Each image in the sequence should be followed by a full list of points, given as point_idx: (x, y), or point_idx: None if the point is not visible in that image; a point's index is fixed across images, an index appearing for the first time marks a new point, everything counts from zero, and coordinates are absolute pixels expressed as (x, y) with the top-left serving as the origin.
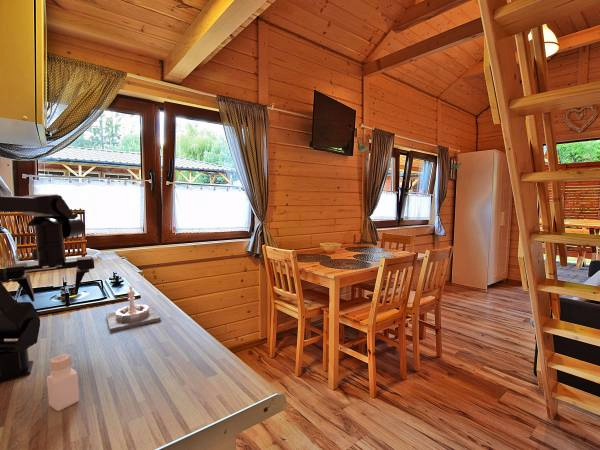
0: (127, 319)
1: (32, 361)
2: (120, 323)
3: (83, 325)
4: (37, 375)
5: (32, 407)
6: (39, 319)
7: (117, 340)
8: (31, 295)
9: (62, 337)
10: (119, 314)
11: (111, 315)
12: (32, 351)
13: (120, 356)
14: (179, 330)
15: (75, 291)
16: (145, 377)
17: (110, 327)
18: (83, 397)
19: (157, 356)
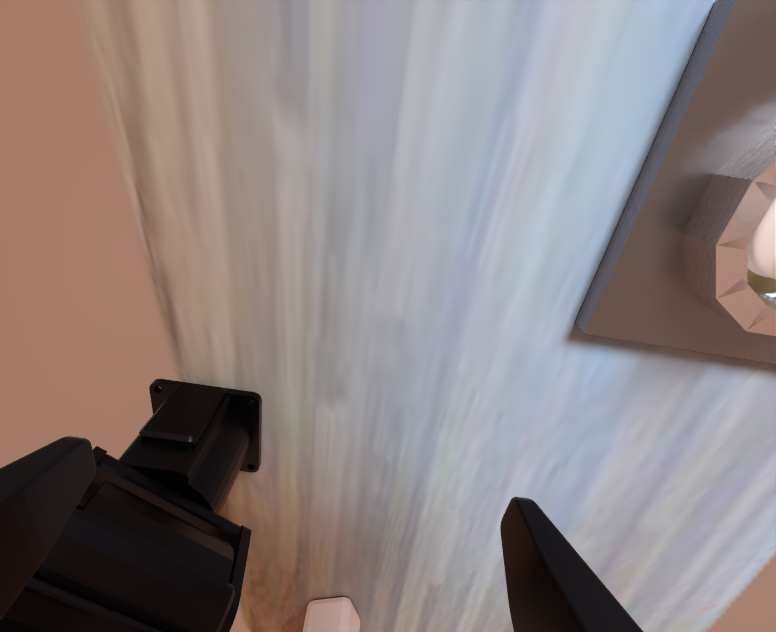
0: (713, 308)
1: (258, 405)
2: (662, 300)
3: (526, 62)
4: (280, 478)
5: (278, 585)
6: (226, 614)
7: (552, 421)
8: (10, 588)
9: (379, 197)
10: (724, 266)
11: (733, 83)
12: (249, 278)
13: (499, 525)
14: (753, 495)
15: (512, 586)
16: (493, 625)
17: (596, 318)
18: (368, 610)
19: None
